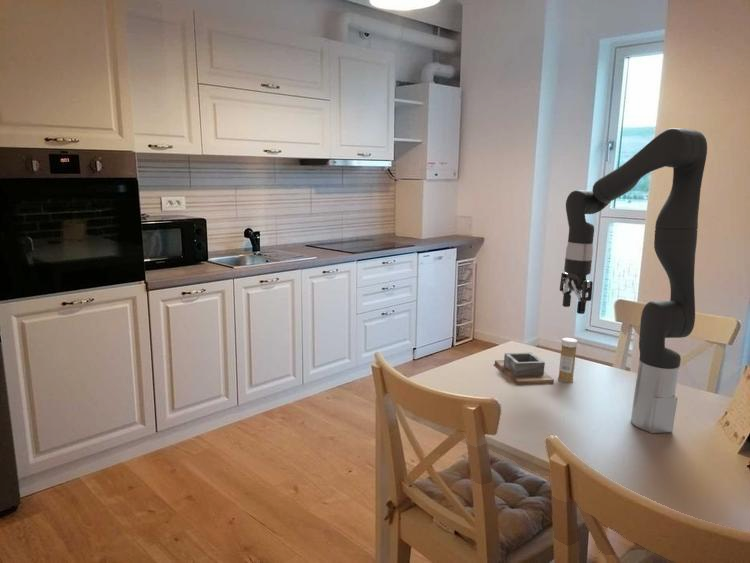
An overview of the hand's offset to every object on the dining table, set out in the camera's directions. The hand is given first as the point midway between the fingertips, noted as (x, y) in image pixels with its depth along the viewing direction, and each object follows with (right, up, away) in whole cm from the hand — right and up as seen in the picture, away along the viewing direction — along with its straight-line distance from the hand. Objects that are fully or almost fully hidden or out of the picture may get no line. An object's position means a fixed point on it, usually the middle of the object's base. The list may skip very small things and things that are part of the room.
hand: (573, 309), depth 166 cm
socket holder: (-13, -21, +10) cm, 26 cm away
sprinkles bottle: (-1, -23, +5) cm, 23 cm away
